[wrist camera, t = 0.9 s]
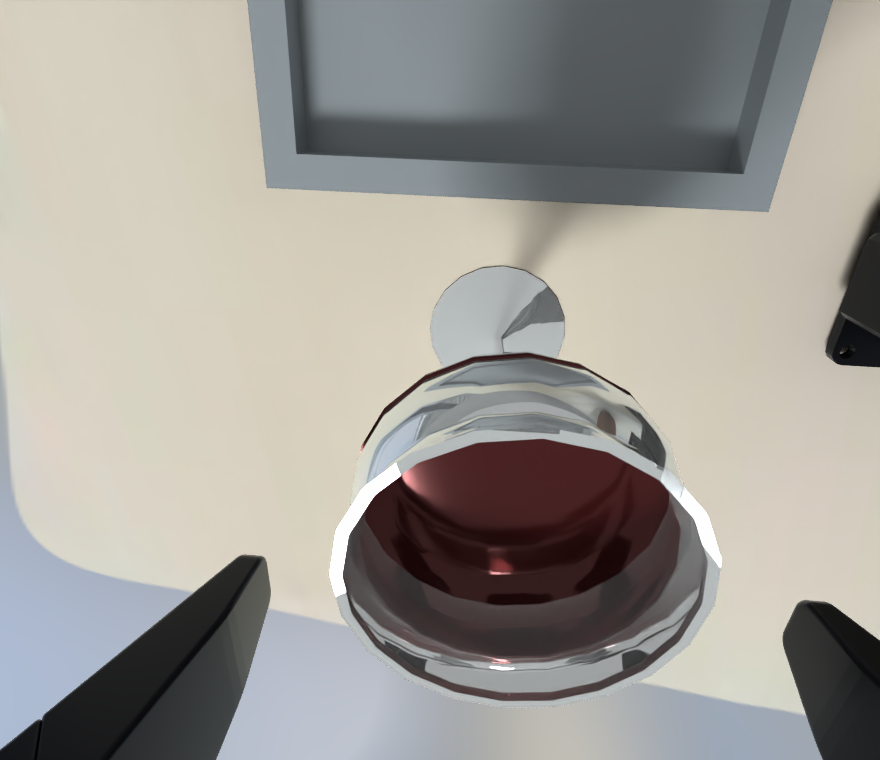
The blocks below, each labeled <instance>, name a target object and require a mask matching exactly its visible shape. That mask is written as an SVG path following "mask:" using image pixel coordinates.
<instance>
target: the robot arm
mask: <svg viewBox="0 0 880 760" xmlns="http://www.w3.org/2000/svg"><path fill="white" fill-rule="evenodd" d="M845 346H848V349H847V350H846V352H844V353H842V354H840V351H841V350H842V348H844V347H845ZM826 355H827V357H829V358H830V359H831V360H832V361H834V362H835V363H837V364H840V365H849V366H867V367H880V212H879V215H878V217H877V220H876V222H875V225H874V227H873V230H872V233H871V235H870V238H869V239H868V240H867V241H866V243H865V246H864V248H863V251H862V254H861V256H860V259H859V261H858V264H857V266H856V269H855V271H854V274H853V276H852V279H851V281H850V284H849V287H848V289H847V292H846V294H845V297H844V299H843V302H842V304H841V307H840V313H839V316H838V319H837V321H836V324H835V326H834V329H833V331H832V334H831V336H830V339H829V341H828V344H827V346H826ZM270 596H271V588H270V581H269V575H268V568H267V562H266V559H265V558H264V557H262V556H256V555H241V556H239V557H237V558H236V559H235V560H233V561H232V562H231V563H230V564H228V565H227V566H226V567H225V568H224V569H222V570H221V571H220V572H219V573H217V574H216V575H215V576H214V577H212V578H211V579H210V580H209V581H208V582H206V583H205V584H204V585H203V586H201V587H200V588H199V589H198V590H197V591H195V592H194V593H193V594H192V595H190V596H189V597H188V598H187V599H185V600H184V601H183V602H182V603H181V604H179V605H178V606H177V607H176V608H174V609H173V610H172V611H171V612H169V613H168V614H167V615H166V616H165V617H163V618H162V619H161V620H160V621H159V622H157V623H156V624H155V625H153V626H152V627H151V628H150V629H149V630H147V631H146V632H145V633H144V634H142V635H141V636H140V637H139V638H138V639H136V640H135V641H134V642H133V643H131V644H130V645H129V646H128V647H126V648H125V649H124V650H123V651H122V652H120V653H119V654H118V655H117V656H115V657H114V658H113V659H112V660H111V661H109V662H108V663H107V664H106V665H104V666H103V667H102V668H101V669H100V670H98V671H97V672H96V673H95V674H93V675H92V676H91V677H90V678H88V679H87V680H86V681H85V682H83V683H82V684H81V685H80V686H78V687H77V688H76V689H75V690H74V691H72V692H71V693H70V694H69V695H67V696H66V697H65V698H64V699H63V700H61V701H60V702H59V703H58V704H57V705H55V706H54V707H53V708H51V709H50V710H49V711H48V712H47V713H45V714H44V716H43V718H42V720H40V719H39V720H37V721H35V722H34V723H33V724H31V725H30V726H29V727H28V728H27V729H25V730H24V731H23V732H22V733H20V734H19V735H18V736H17V737H16V738H14V739H13V740H12V741H11V742H9V743H8V744H7V745H6V746H4V747H3V748H2V749H1V750H0V760H216V758H217V756H218V753H219V751H220V749H221V746H222V744H223V741H224V739H225V736H226V734H227V731H228V729H229V726H230V724H231V722H232V719H233V717H234V714H235V712H236V709H237V707H238V704H239V701H240V699H241V696H242V693H243V690H244V687H245V684H246V681H247V678H248V674H249V671H250V668H251V664H252V660H253V657H254V654H255V650H256V647H257V643H258V640H259V637H260V633H261V630H262V626H263V623H264V619H265V616H266V613H267V609H268V606H269V602H270ZM783 646H784V650H785V653H786V656H787V659H788V662H789V665H790V668H791V671H792V674H793V677H794V680H795V683H796V686H797V689H798V692H799V695H800V698H801V701H802V704H803V707H804V710H805V713H806V716H807V719H808V722H809V725H810V727H811V730H812V733H813V736H814V739H815V741H816V744H817V747H818V749H819V751H820V754H821V756H822V759H823V760H880V640H878V639H877V638H876V637H874V636H873V635H872V634H870V633H869V632H868V631H866V630H865V629H864V628H862V627H861V626H860V625H858V624H857V623H856V622H854V621H853V620H852V619H850V618H849V617H848V616H846V615H845V614H844V613H842V612H841V611H840V610H838V609H837V608H836V607H834V606H833V605H831V604H829V603H827V602H822V601H809V600H803V601H801V602H799V603H798V604H797V605H796V607H795V609H794V611H793V613H792V615H791V618H790V620H789V622H788V624H787V626H786V628H785V630H784V632H783Z"/></svg>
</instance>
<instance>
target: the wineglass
mask: <svg viewBox="0 0 880 760" xmlns="http://www.w3.org/2000/svg"><path fill="white" fill-rule="evenodd" d="M430 330H431V338H432V346H433V349H434V351H435V353H436V355H437V357H438V359H439V361H440V363H441V365H442V366H443V368H441V369H438V370H436V371H433V372H431V373H428V374H426V375H425V376H424V377H422V378H421V379H420V380H419V381H417V382H416V383H415V384H414V385H412V386H411V387H410V388H409V389H407V390H406V391H405V392H404V393H402V394H401V395H400V396H399V397H397V398H396V399H395V400H394V401H392V402H391V403H390V404H389V405H388V406H387V407H385V408H384V410H383V411H382V413H381V415H380V416H379V418H378V420H377V421H376V423H375V425H374V426H373V428H372V430H371V431H370V433H369V434H368V436H367V438H366V439H365V441H364V443H363V444H362V446H361V452H360V455H359V456H358V458H357V461H356V467H355V473H354V479H353V486H352V492H351V498H350V510H349V511H348V513H347V515H346V516H345V518H344V519H343V521H342V522H341V524H340V526H339V527H338V529H337V530H336V536H335V543H334V549H333V556H332V562H331V569H330V577H331V581H332V585H333V588H334V592H335V595H336V599H337V603H338V606H339V610H340V613H341V616H342V618H343V619H344V620H345V622H346V623H347V624H348V626H349V627H350V628H351V630H352V631H353V632H354V634H355V635H356V636H357V638H358V639H359V640H360V642H361V643H362V644H363V646H364V647H365V649H366V650H367V651H368V652H369V653H371V654H372V655H373V656H375V657H376V658H377V659H379V660H380V661H382V662H383V663H384V664H385V665H387V666H388V667H390V668H391V669H392V670H394V671H395V672H396V673H398V674H399V675H400V676H402V677H403V678H404V679H406V680H409V681H411V682H413V683H416V684H418V685H421V686H423V687H426V688H428V689H430V690H433V691H435V692H438V693H440V694H442V695H445V696H447V697H450V698H454V699H459V700H464V701H470V702H474V703H480V704H485V705H490V706H496V707H501V708H503V707H504V708H506V707H557V706H561V705H566V704H571V703H575V702H580V701H585V700H590V699H595V698H599V697H604V696H607V695H609V694H611V693H613V692H616V691H618V690H620V689H622V688H625V687H627V686H629V685H631V684H634V683H636V682H638V681H640V680H643V679H645V678H647V677H649V676H651V675H653V674H654V673H655V672H656V671H658V670H659V669H660V668H661V667H663V666H664V665H665V664H666V663H668V662H669V661H670V660H671V659H673V658H674V657H675V656H676V655H678V654H679V653H680V652H681V651H682V650H684V649H685V648H686V647H687V646H689V645H690V643H691V642H692V640H693V639H694V637H695V635H696V634H697V632H698V631H699V629H700V628H701V626H702V624H703V623H704V621H705V620H706V618H707V617H708V615H709V613H710V612H711V610H712V609H713V607H714V605H715V599H716V593H717V587H718V581H719V575H720V568H721V562H722V560H721V556H720V553H719V550H718V546H717V543H716V540H715V537H714V533H713V530H712V527H711V523H710V520H709V517H708V514H707V513H706V512H705V510H704V509H703V508H702V507H701V506H700V505H699V503H698V502H697V501H696V500H695V499H694V498H693V497H692V495H691V494H690V493H689V492H688V491H687V490H686V489H685V487H684V483H683V480H682V476H681V473H680V470H679V467H678V464H677V461H676V457H675V454H674V451H673V448H672V445H671V442H670V440H669V439H668V438H667V437H666V435H665V434H664V433H663V432H662V431H661V430H660V428H659V427H658V426H657V425H656V423H655V422H654V421H653V420H652V419H651V418H650V416H649V415H648V414H647V413H646V412H645V410H644V409H643V408H642V407H641V406H640V405H639V403H638V402H637V401H636V400H635V399H634V398H633V396H632V395H631V394H630V393H629V392H628V391H626V390H625V389H624V388H622V387H621V386H619V385H617V384H615V383H614V382H612V381H610V380H608V379H607V378H605V377H603V376H601V375H600V374H598V373H596V372H594V371H593V370H591V369H589V368H587V367H586V366H584V365H582V364H580V363H577V362H574V361H570V360H566V359H562V358H557V356H558V354H559V351H560V348H561V345H562V342H563V339H564V315H563V312H562V310H561V307H560V304H559V302H558V299H557V297H556V296H555V295H554V294H553V292H552V291H551V290H550V289H549V288H548V287H547V285H546V284H545V283H544V282H543V281H541V280H539V279H538V278H536V277H534V276H533V275H531V274H529V273H528V272H526V271H523V270H518V269H514V268H509V267H505V266H501V267H490V268H481V269H479V270H476V271H474V272H472V273H469V274H467V275H464V276H462V277H460V278H459V279H458V280H457V281H456V282H455V283H453V284H452V285H451V286H450V287H449V288H448V289H447V290H445V292H444V293H443V295H442V297H441V298H440V300H439V302H438V303H437V305H436V307H435V308H434V312H433V317H432V322H431V327H430Z"/></svg>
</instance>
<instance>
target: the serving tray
mask: <svg viewBox="0 0 880 760" xmlns="http://www.w3.org/2000/svg"><path fill="white" fill-rule="evenodd" d="M832 1H833V0H247V2H248V12H249V21H250V31H251V41H252V50H253V60H254V69H255V79H256V89H257V98H258V108H259V118H260V127H261V137H262V146H263V156H264V166H265V175H266V185H267V188H280V189H300V190H321V191H342V192H363V193H384V194H405V195H426V196H447V197H467V198H488V199H509V200H530V201H551V202H572V203H593V204H614V205H634V206H655V207H676V208H697V209H718V210H739V211H760V212H769V208H770V205H771V202H772V198H773V195H774V192H775V189H776V185H777V182H778V179H779V175H780V172H781V169H782V166H783V162H784V159H785V156H786V152H787V149H788V146H789V142H790V139H791V136H792V133H793V129H794V126H795V123H796V119H797V116H798V113H799V110H800V106H801V103H802V100H803V96H804V93H805V90H806V87H807V83H808V80H809V77H810V73H811V70H812V67H813V64H814V60H815V57H816V54H817V50H818V47H819V44H820V41H821V37H822V34H823V31H824V27H825V24H826V21H827V18H828V14H829V11H830V8H831V4H832Z"/></svg>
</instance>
